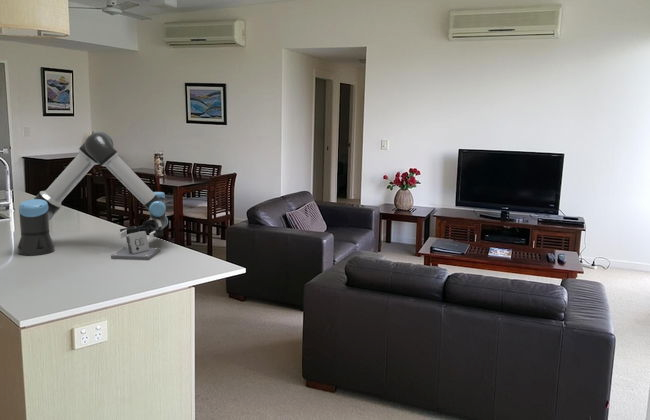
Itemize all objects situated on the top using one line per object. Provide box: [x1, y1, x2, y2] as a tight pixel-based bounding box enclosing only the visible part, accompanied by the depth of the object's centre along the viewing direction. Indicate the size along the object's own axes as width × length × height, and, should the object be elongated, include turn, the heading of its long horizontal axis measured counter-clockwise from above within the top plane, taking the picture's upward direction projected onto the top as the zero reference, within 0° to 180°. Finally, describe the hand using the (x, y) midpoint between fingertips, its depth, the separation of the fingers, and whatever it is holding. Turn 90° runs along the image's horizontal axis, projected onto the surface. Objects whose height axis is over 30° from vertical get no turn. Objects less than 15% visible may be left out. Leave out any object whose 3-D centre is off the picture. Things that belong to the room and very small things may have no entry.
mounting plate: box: [110, 246, 161, 261], centre depth 255 cm, size 17×16×2 cm
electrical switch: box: [125, 231, 150, 254], centre depth 255 cm, size 9×5×9 cm, turn 148°
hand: (135, 236), depth 252 cm, fingers open, 13 cm apart
